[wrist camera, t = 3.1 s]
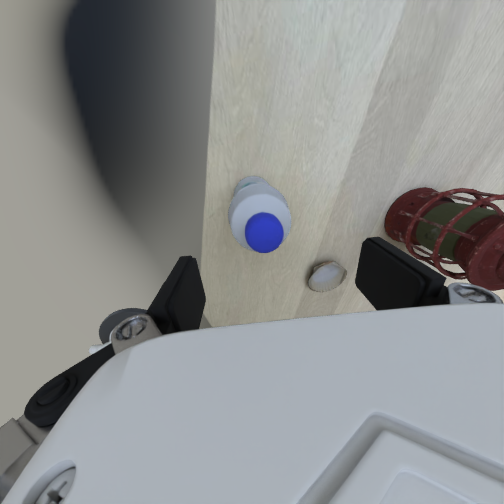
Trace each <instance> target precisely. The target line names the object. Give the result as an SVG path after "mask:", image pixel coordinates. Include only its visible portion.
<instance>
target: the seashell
mask: <svg viewBox="0 0 504 504" xmlns="http://www.w3.org/2000/svg"><path fill="white" fill-rule="evenodd" d="M313 271H314V272H313V274H312V275H311V277H310V278H309V281H308V285H309V287H310V288H311V289H312V290H314V291H317V292H318V291H319V292H325V291H328V290H329V291H330V290H331V289H334V288H336V287H337V286H339V285H340V284H341V283H342V282H343V281H344V279H345V278H346V275H347V271H346V269H345V268H343V267H341V266H339V265H338V264H337V263H336V262H335V261H331V262H324V263H322V264H320V265H319V266H316V267H314V269H313Z"/></svg>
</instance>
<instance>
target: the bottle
mask: <svg viewBox="0 0 504 504" xmlns="http://www.w3.org/2000/svg"><path fill="white" fill-rule="evenodd" d="M228 219H229V223H230V226H231V230H232V233H233V235H234V237H235V239H236V240H237V242H238V243H239V244H240V245H242V246H243V247H244V248H246V249H249V250H251V251H256V252H259V253H268V252H271V251H273V250H275V249H277V248H278V247H279V245H280V244H281V243H282V242H283V241H284V240H285V239H286V237H287V236H288V234H289V231H290V228H291V215H290V211H289V208H288V204H287V202H286V200H285V198H284V196H283V195H282V194H281V193H280V192H279V191H278V190H276V189H275V188H273V187H271V186H270V185H269V184H268V183H267V182H266V181H265V180H264V179H262V178H260V177H257V176H250V177H246V178H244V179H242V180H241V181H240V182H239V183H238V185H237V186H236V188H235V191H234V198H233V200H232V202H231V204H230V207H229V212H228Z"/></svg>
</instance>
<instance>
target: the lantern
mask: <svg viewBox="0 0 504 504" xmlns="http://www.w3.org/2000/svg"><path fill="white" fill-rule="evenodd" d="M456 193H468V194H470V195H473V196H474V197H475V198H476V199H475V200H473V199H468V198H463V197H458V196H453V195H452V194H456ZM481 195H482V196H488V197H487V198H483V197H482V196H481ZM451 198H453V199H457V200H462V201H466V202H471V203H473V204H472V205H467V204H460V203H455V202H454V201H453V200H452V199H451ZM494 200H504V194H503V195H497V194H490V193H483V192H479V191H477V190H474V189H465V188H459V189H453V190H449V191H445V192H442V193H440V192H438V191H436V190H434V189H432V188H426V187H424V188H418V189H414V190H411V191H409V192H407V193H405V194H403V195H402V196H401V197H400V198H398V199H397V200H396V201H395V202H394V203H393V204H392V206H391V207H390V209H389V211H388V212H387V215H386V219H385V229H386V232H387V234H388V235H389V236H390V237H391V238H392V239H393V240H396V241H398V242H403V243H405V244H406V248H407V249H408V251H409V252H410V253H411V254H412V255H413V256H414V257H415V258H417V259H420V260H423V261H425V262H427V263H429V264H430V265H432V266H434V267H435V268H437V269H438V270H439V271H440V272H441V273H443V274H444V275H446V276H449V277H451V278H454V279H461V280H462V279H466V278H467V280H468V281H469V282H470V283H471V284H473V285H476V286H480V287H482V288H485V289H487V290H490V291H496V290H501V289H504V213H503V212H502V210H501V209H500V208H499V207H498V206H496V205H495V204H493V203H490V202H491V201H494ZM479 206H480V207H479ZM486 206H488V207H491V208H493V209H494V210H495V211H494V210H490V209H487V207H486ZM415 245H419V246H420V245H423V246H424V247H426V248H427V249H429V250H431V251H433V254H430V253H428V252H426V251H424V250H422V249H421V248H419V247H417V246H415ZM413 248H415V249H417V250H419V251H421V252H423V253H425V254H427V255H429V256H430V257H424V256H421V255H419V254H417V253H415V252H414V249H413ZM438 254H439V255H438ZM441 258H448V259H450V260H452V261H446V260H443V259H441ZM429 260H432V261H433V262H434V263H432V262H431V261H429ZM440 262H442V263H446V264H458V265H459V266H460V267H461V268H462V269H463V270H464V271H465V272H464V273H453V272H450V271H447V270H445V269H443V268H442V266H441V265H440ZM463 276H466V277H463Z"/></svg>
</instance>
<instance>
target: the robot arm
mask: <svg viewBox="0 0 504 504" xmlns="http://www.w3.org/2000/svg"><path fill="white" fill-rule="evenodd" d="M445 280H446V277H444V276H443V275H441V274H439V273H438V272H436V271H434V270H433V269H431V268H430V267H428V266H426V265H425V264H423V263H421V262H420V261H418V260H416V259H415V258H413V257H412V256H410V255H408V254H407V253H405V252H403V251H402V250H400V249H398V248H397V247H395V246H394V245H392V244H390V243H389V242H387V241H385V240H384V239H382V238H380V237H371V238H367V239H366V240H365V241H363V243H362V247H361V253H360V258H359V263H358V268H357V274H356V279H355V284H356V286H357V288H358V289H359V290H360V291H361V292H362V293H363V295H364V296H365V297H366V298H367V299H368V300H369V302H370V303H371V304H372V305H373V306H374V307H375V309H376V310H377V311H368V312H358V313H347V314H337V315H327V316H317V317H307V318H297V319H287V320H278V321H268V322H259V323H250V324H240V325H231V326H222V327H212V328H204V329H199V326H200V322H201V318H202V314H203V310H204V306H205V302H206V296H205V292H204V288H203V284H202V280H201V276H200V273H199V269H198V265H197V261H196V258H192V256H182V257H180V258H179V260H178V261H177V263H176V265H175V266H174V268H173V270H172V271H171V273H170V275H169V276H168V278H167V280H166V281H165V282H164V284H163V285H162V287H161V289H160V290H159V292H158V294H157V296H156V297H155V299H154V300H153V302H152V304H151V305H150V307H149V309H148V310H147V312H146V313H145V314H138V315H134V316H132V317H129V318H127V319H125V320H124V321H122V322H121V323H120V324H119V325H117V326H116V327H115V328H114V329H113V330H112V332H111V334H110V337H109V340H110V341H109V342H106V343H105V344H104V345H92V346H91V347H90V349H89V353H90V354H92V355H91V356H89V357H87V358H86V359H84V360H82V361H81V362H79V363H77V364H76V365H74V366H72V367H71V368H69V369H68V370H66V371H64V372H63V373H61V374H59V375H58V376H56V377H54V378H53V379H52V380H50V381H49V382H47V383H46V384H44V386H42V387H41V388H40V389H39V390H38V391H37V392H36V393H35V394H34V395H33V396H32V397H31V399H30V400H29V402H28V404H27V405H26V407H25V411H24V415H22V416H21V417H20V418H19V419H18V420H15V419H14V418H12V419H11V420H9V421H8V422H7V423H6V424H4V425H3V426H2V427H1V428H0V504H504V304H503V301H502V300H501V299H500V297H499V296H497V295H496V294H495V293H493V292H491V291H489V290H487V289H485V288H482V287H480V286H476V285H473V284H468V283H451V284H450V285H449V286H448V287H446V286H444V282H445Z"/></svg>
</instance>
